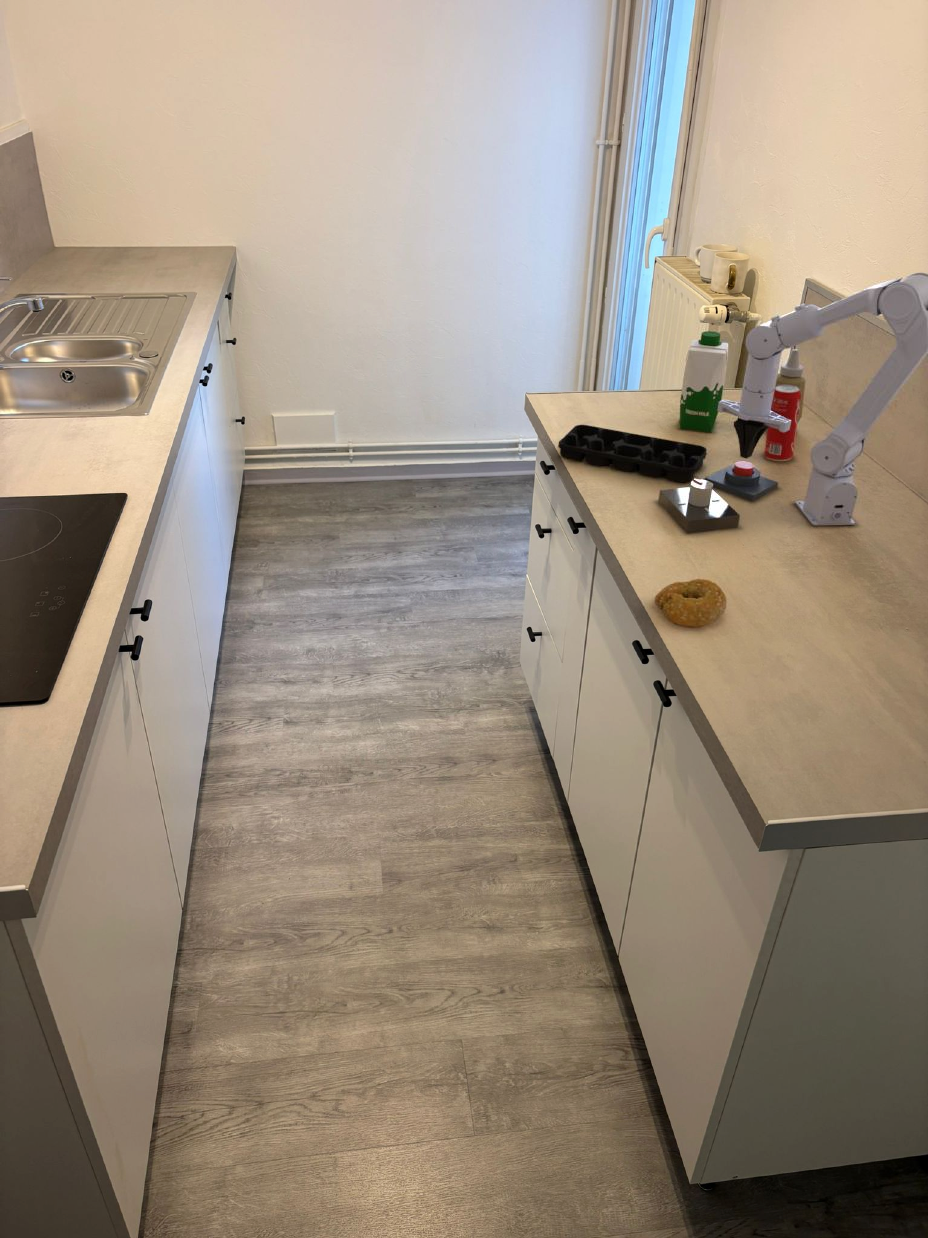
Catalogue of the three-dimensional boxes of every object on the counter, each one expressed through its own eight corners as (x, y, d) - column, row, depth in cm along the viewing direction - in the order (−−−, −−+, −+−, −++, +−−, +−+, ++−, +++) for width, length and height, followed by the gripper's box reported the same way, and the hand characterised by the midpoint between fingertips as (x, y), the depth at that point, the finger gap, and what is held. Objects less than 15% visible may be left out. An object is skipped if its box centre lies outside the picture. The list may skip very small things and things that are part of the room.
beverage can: (793, 463, 199) (808, 393, 191) (760, 461, 200) (774, 391, 192) (790, 452, 204) (805, 384, 196) (759, 450, 205) (772, 381, 197)
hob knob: (714, 503, 177) (717, 484, 175) (699, 508, 175) (702, 489, 173) (698, 495, 180) (702, 476, 178) (683, 500, 178) (686, 481, 176)
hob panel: (737, 528, 175) (740, 514, 173) (686, 533, 173) (689, 519, 171) (706, 497, 185) (708, 484, 184) (657, 502, 183) (659, 489, 182)
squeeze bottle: (753, 425, 217) (768, 346, 207) (781, 420, 220) (797, 342, 210) (777, 438, 211) (793, 357, 201) (806, 433, 214) (823, 352, 204)
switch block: (777, 488, 189) (780, 473, 187) (752, 502, 184) (755, 486, 182) (729, 471, 196) (731, 456, 194) (703, 483, 190) (706, 469, 189)
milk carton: (718, 420, 219) (732, 332, 208) (715, 435, 212) (729, 344, 201) (679, 416, 221) (691, 328, 210) (674, 430, 214) (687, 340, 203)
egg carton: (703, 487, 189) (705, 469, 187) (551, 470, 195) (553, 453, 193) (706, 453, 203) (708, 436, 201) (565, 438, 209) (566, 421, 207)
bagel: (672, 588, 157) (676, 562, 154) (735, 611, 151) (740, 585, 148) (641, 613, 150) (645, 586, 147) (705, 638, 144) (710, 611, 142)
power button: (755, 473, 188) (757, 465, 187) (745, 478, 186) (747, 470, 185) (739, 467, 190) (741, 459, 189) (729, 472, 188) (731, 464, 187)
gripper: (713, 382, 181) (702, 450, 188) (781, 403, 172) (767, 473, 180) (734, 374, 185) (722, 441, 192) (802, 394, 176) (787, 463, 184)
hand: (745, 456), depth 186 cm, fingers closed
